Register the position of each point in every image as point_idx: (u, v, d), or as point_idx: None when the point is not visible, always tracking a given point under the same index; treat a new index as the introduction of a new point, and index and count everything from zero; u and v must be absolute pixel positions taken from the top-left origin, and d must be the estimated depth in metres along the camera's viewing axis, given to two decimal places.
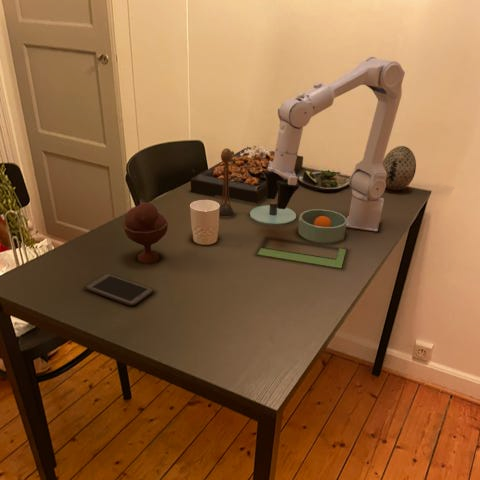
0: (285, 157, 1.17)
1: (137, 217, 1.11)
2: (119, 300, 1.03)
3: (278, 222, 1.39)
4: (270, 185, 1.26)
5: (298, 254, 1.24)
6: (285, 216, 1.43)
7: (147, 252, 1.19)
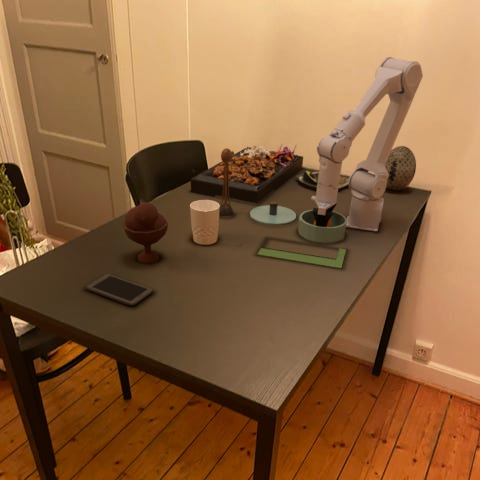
0: (322, 188, 1.26)
1: (137, 217, 1.11)
2: (119, 300, 1.03)
3: (278, 222, 1.39)
4: None
5: (298, 254, 1.24)
6: (285, 216, 1.43)
7: (147, 252, 1.19)
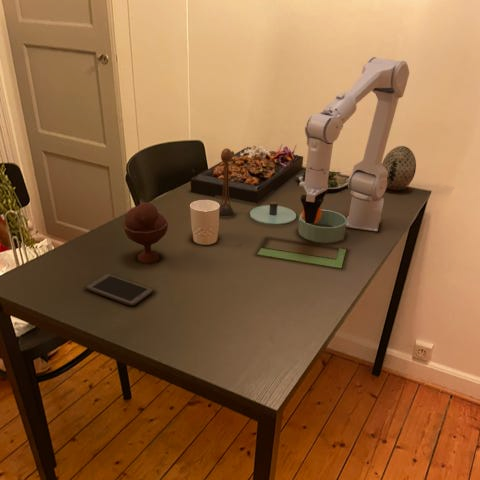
0: (311, 173, 1.14)
1: (137, 217, 1.11)
2: (119, 300, 1.03)
3: (278, 222, 1.39)
4: None
5: (298, 254, 1.24)
6: (285, 216, 1.43)
7: (147, 252, 1.19)
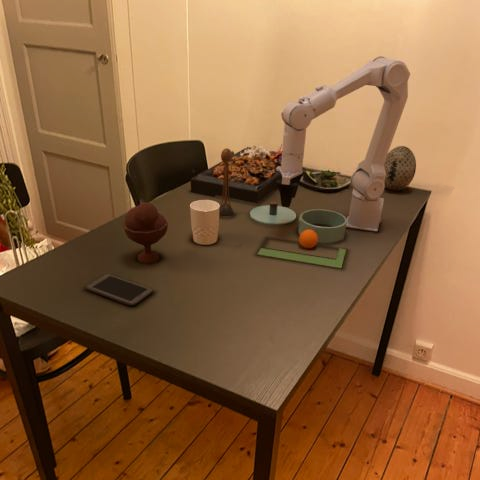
0: (286, 158, 1.22)
1: (137, 217, 1.11)
2: (119, 300, 1.03)
3: (278, 222, 1.39)
4: None
5: (298, 254, 1.24)
6: (285, 216, 1.43)
7: (147, 252, 1.19)
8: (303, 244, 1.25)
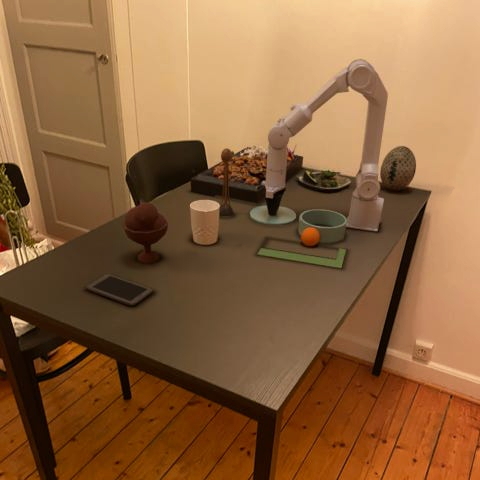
0: (270, 173, 1.35)
1: (137, 217, 1.11)
2: (119, 300, 1.03)
3: (278, 222, 1.39)
4: None
5: (298, 254, 1.24)
6: (285, 216, 1.43)
7: (147, 252, 1.19)
8: (305, 237, 1.25)
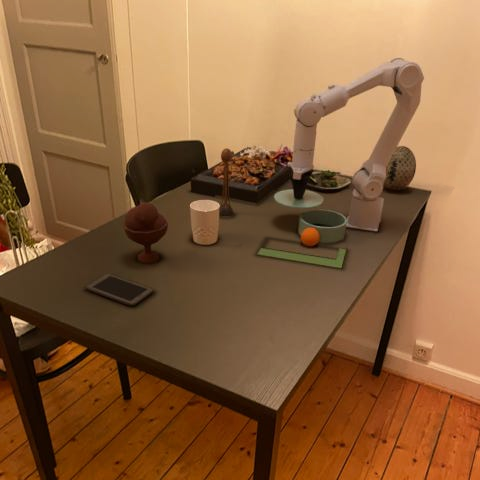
0: (297, 153, 1.26)
1: (137, 217, 1.11)
2: (119, 300, 1.03)
3: (305, 206, 1.30)
4: None
5: (298, 254, 1.24)
6: (312, 200, 1.34)
7: (147, 252, 1.19)
8: (305, 237, 1.25)
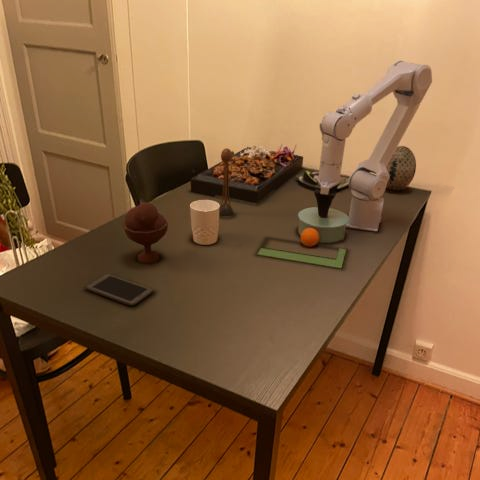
0: (324, 167, 1.22)
1: (137, 217, 1.11)
2: (119, 300, 1.03)
3: (331, 226, 1.27)
4: None
5: (298, 254, 1.24)
6: (337, 219, 1.31)
7: (147, 252, 1.19)
8: (305, 238, 1.25)
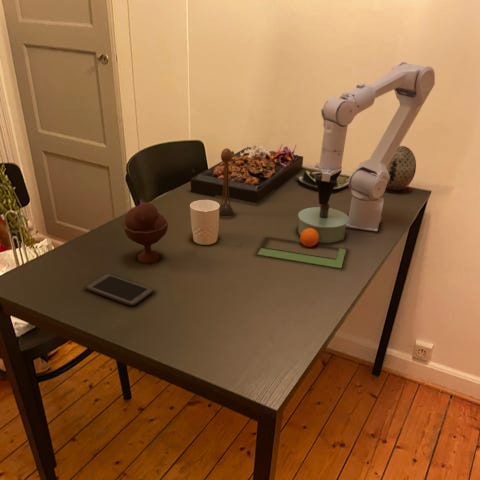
0: (326, 154, 1.20)
1: (137, 217, 1.11)
2: (119, 300, 1.03)
3: (331, 226, 1.27)
4: None
5: (298, 254, 1.24)
6: (337, 219, 1.31)
7: (147, 252, 1.19)
8: (304, 239, 1.25)
